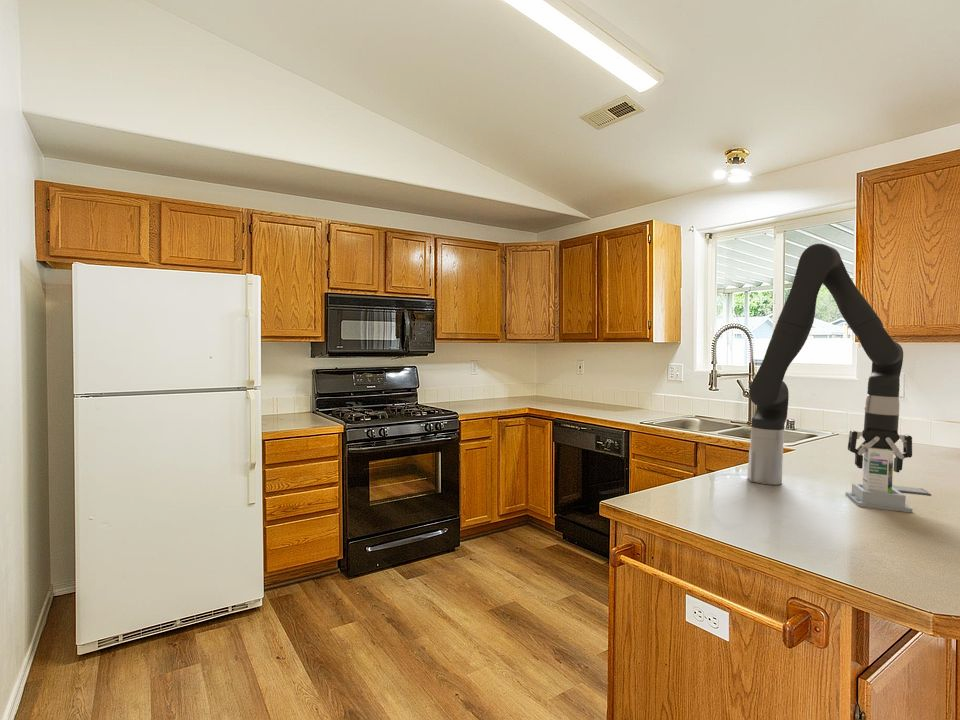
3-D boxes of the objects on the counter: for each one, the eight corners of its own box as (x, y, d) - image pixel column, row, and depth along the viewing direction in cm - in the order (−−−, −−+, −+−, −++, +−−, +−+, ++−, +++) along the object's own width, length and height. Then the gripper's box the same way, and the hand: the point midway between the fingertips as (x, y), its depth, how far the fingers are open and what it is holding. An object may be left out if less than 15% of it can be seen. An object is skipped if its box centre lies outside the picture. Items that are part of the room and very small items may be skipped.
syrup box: (865, 500, 146) (868, 448, 145) (861, 495, 151) (864, 444, 151) (891, 503, 143) (894, 450, 143) (886, 498, 149) (888, 446, 148)
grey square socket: (858, 506, 144) (858, 491, 144) (845, 495, 155) (846, 481, 155) (912, 512, 139) (913, 497, 139) (895, 500, 151) (895, 486, 151)
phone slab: (931, 497, 157) (931, 493, 157) (877, 491, 162) (878, 488, 162) (921, 491, 163) (922, 488, 163) (871, 486, 168) (871, 482, 168)
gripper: (855, 411, 145) (851, 469, 146) (919, 415, 140) (914, 476, 141) (847, 408, 152) (843, 464, 153) (907, 412, 147) (903, 470, 148)
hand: (877, 469), depth 147 cm, fingers open, 8 cm apart
